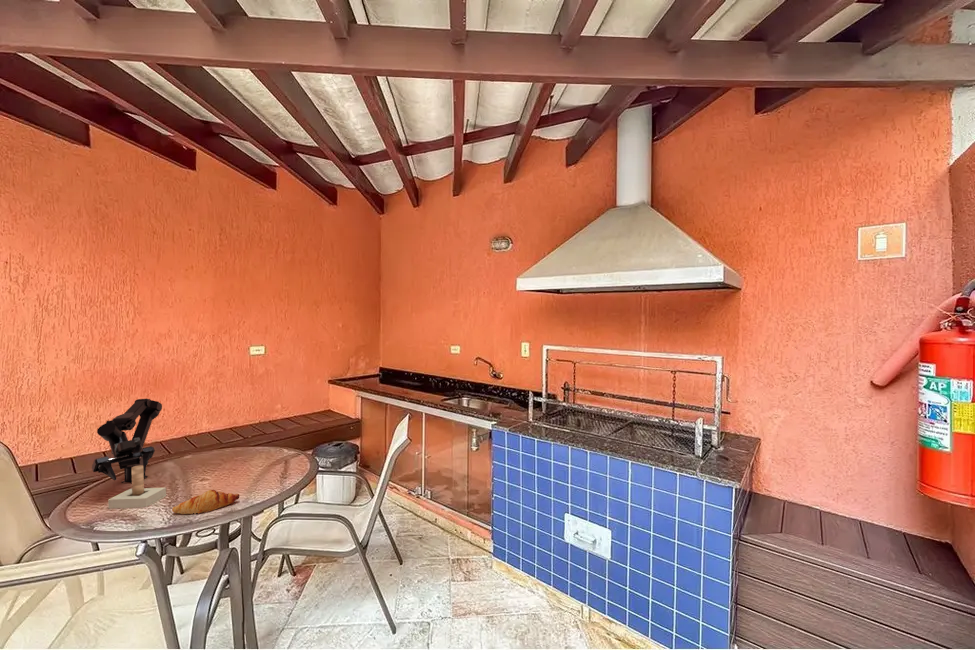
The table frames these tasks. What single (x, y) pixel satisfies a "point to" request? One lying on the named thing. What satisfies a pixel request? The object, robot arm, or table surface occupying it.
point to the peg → (137, 480)
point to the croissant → (205, 502)
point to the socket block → (137, 498)
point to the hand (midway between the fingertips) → (130, 475)
